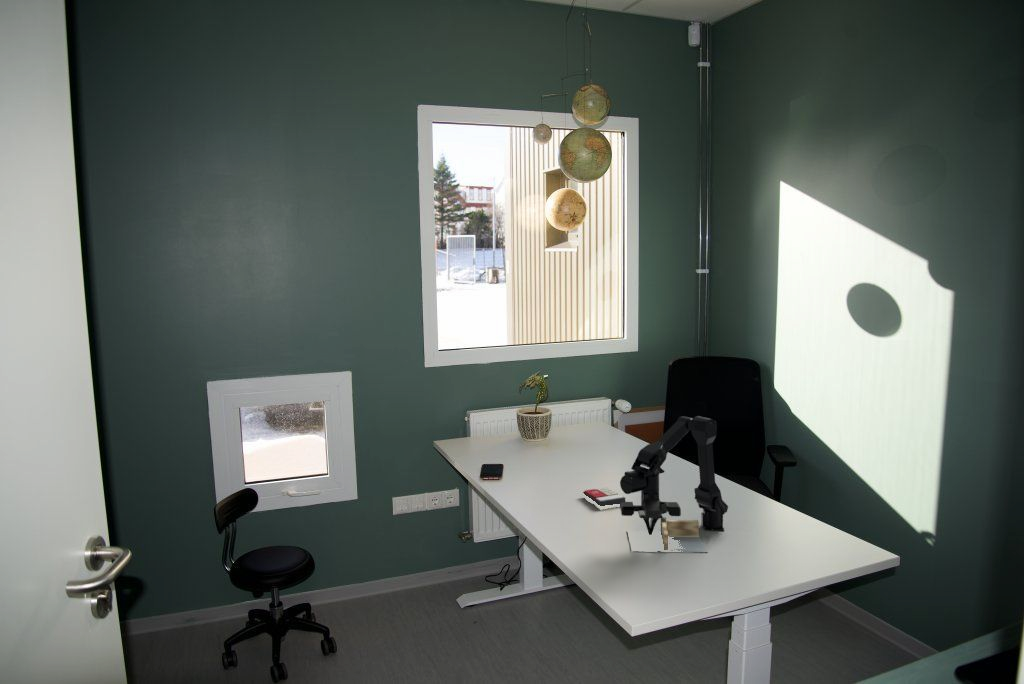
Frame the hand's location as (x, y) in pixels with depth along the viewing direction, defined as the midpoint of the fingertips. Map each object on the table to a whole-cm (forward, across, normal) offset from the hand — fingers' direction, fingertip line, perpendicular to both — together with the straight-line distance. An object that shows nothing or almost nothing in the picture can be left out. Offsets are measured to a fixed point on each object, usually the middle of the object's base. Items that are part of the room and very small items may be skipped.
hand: (650, 534), depth 216 cm
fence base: (+4, +11, +9) cm, 15 cm away
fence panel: (+4, +5, +2) cm, 7 cm away
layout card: (+4, +6, +5) cm, 9 cm away
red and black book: (+5, -13, +42) cm, 44 cm away
